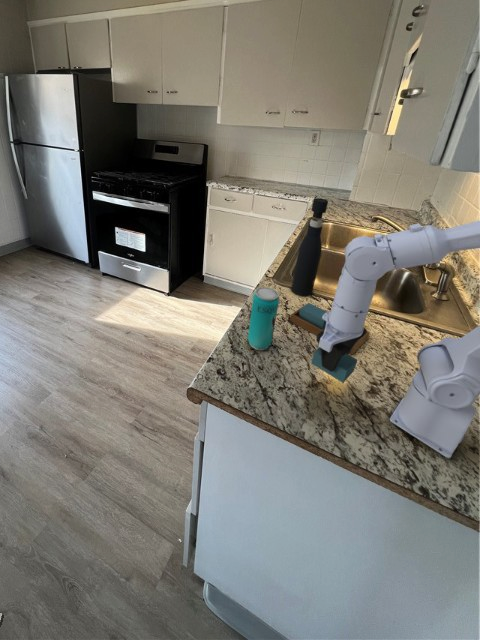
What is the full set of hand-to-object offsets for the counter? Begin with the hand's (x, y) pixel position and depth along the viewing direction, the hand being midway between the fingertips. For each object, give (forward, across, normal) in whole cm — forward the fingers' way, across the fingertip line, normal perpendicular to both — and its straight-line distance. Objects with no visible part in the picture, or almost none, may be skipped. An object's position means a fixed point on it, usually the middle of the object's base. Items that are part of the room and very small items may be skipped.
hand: (333, 361), depth 61 cm
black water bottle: (+9, -32, -25) cm, 42 cm away
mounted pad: (+8, -20, -14) cm, 26 cm away
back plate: (+8, -20, -10) cm, 24 cm away
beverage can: (+9, -1, -18) cm, 20 cm away
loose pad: (+1, 0, 0) cm, 1 cm away
